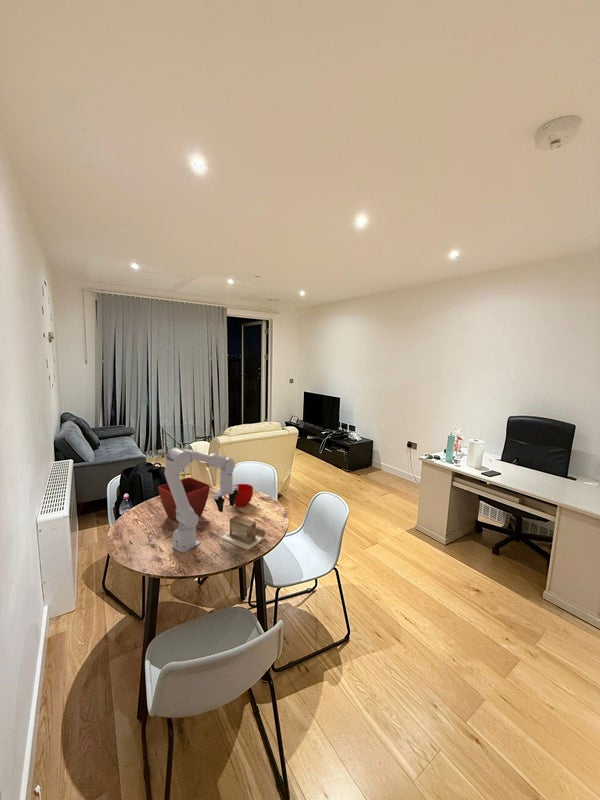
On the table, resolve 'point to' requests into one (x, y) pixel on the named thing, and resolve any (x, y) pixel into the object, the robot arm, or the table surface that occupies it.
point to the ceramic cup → (243, 495)
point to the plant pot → (194, 493)
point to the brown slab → (242, 529)
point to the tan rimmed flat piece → (259, 537)
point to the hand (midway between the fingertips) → (226, 508)
